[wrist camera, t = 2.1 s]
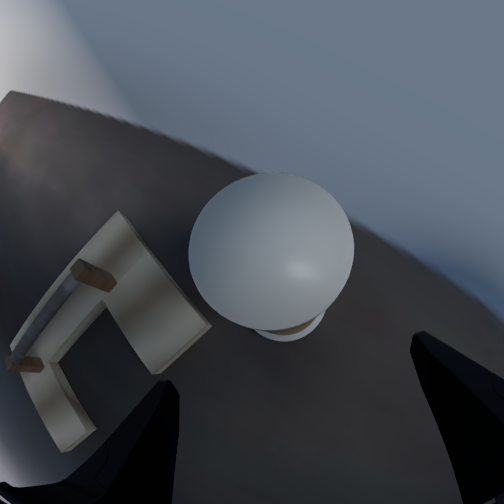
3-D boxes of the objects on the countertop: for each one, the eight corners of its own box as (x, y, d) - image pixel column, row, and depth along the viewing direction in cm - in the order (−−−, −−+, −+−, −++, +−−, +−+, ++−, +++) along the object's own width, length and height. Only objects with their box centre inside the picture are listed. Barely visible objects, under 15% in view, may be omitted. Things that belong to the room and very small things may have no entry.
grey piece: (212, 326, 21) (182, 317, 15) (70, 450, 18) (31, 460, 13) (126, 216, 26) (91, 186, 20) (18, 346, 23) (-19, 340, 17)
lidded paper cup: (329, 337, 19) (372, 324, 8) (245, 344, 20) (183, 339, 9) (320, 256, 21) (340, 161, 10) (242, 264, 22) (187, 181, 11)
